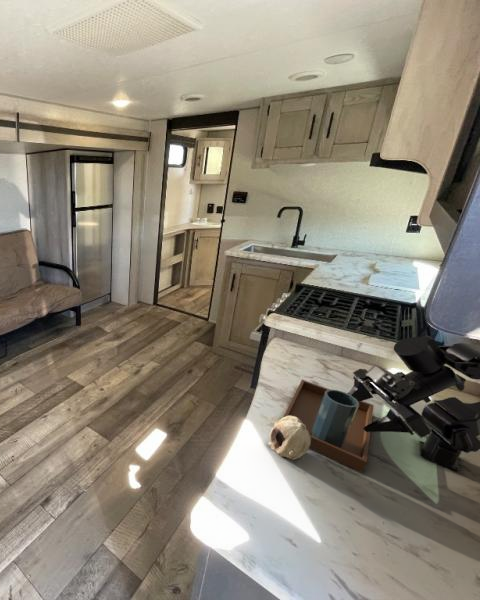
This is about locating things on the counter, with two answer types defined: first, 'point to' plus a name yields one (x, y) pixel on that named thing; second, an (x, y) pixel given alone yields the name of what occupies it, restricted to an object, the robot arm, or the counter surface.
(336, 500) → the counter surface
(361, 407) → the tray
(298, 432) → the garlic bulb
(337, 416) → the tumbler
